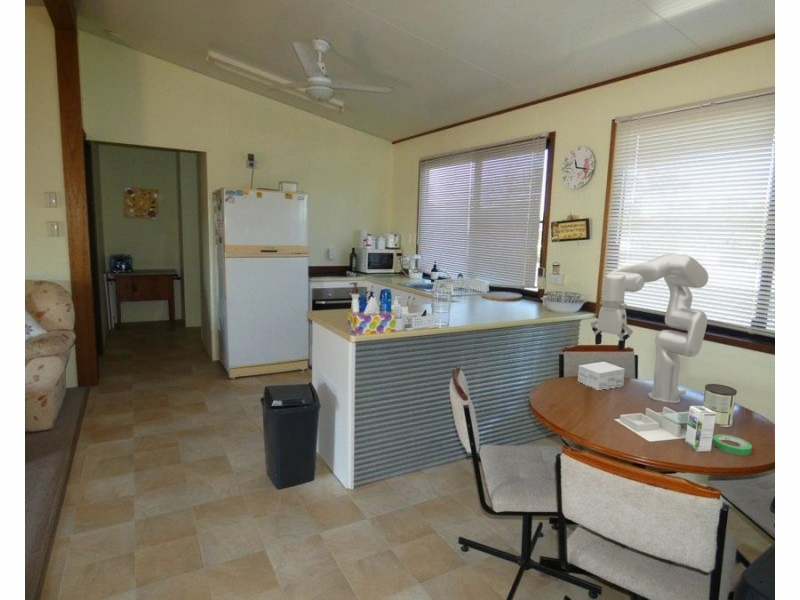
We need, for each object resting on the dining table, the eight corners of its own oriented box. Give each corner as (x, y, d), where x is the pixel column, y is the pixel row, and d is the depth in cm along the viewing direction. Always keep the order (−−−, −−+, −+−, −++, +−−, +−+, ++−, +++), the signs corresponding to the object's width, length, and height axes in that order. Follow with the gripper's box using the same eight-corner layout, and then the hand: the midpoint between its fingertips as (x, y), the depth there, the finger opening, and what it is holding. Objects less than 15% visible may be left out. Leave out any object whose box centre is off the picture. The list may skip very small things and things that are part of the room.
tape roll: (752, 447, 158) (753, 440, 157) (749, 459, 149) (750, 452, 149) (714, 437, 165) (715, 431, 164) (709, 448, 157) (710, 441, 156)
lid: (681, 413, 171) (682, 404, 170) (696, 421, 164) (698, 412, 163) (661, 415, 169) (662, 406, 169) (677, 423, 162) (678, 413, 162)
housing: (661, 417, 182) (662, 404, 181) (701, 438, 163) (702, 424, 162) (613, 421, 177) (615, 408, 176) (649, 444, 159) (650, 429, 158)
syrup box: (684, 444, 159) (688, 405, 157) (699, 443, 160) (704, 405, 157) (695, 452, 154) (700, 412, 151) (711, 451, 154) (717, 411, 152)
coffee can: (697, 414, 185) (701, 382, 182) (727, 418, 181) (731, 385, 179) (705, 425, 175) (709, 390, 173) (736, 429, 172) (741, 394, 170)
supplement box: (602, 378, 229) (603, 361, 228) (623, 387, 217) (625, 368, 216) (576, 382, 223) (578, 364, 221) (597, 391, 211) (599, 372, 209)
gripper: (639, 307, 171) (635, 350, 173) (598, 301, 185) (595, 341, 188) (628, 309, 166) (624, 353, 169) (587, 302, 181) (584, 343, 183)
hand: (609, 346), depth 178 cm, fingers open, 9 cm apart
